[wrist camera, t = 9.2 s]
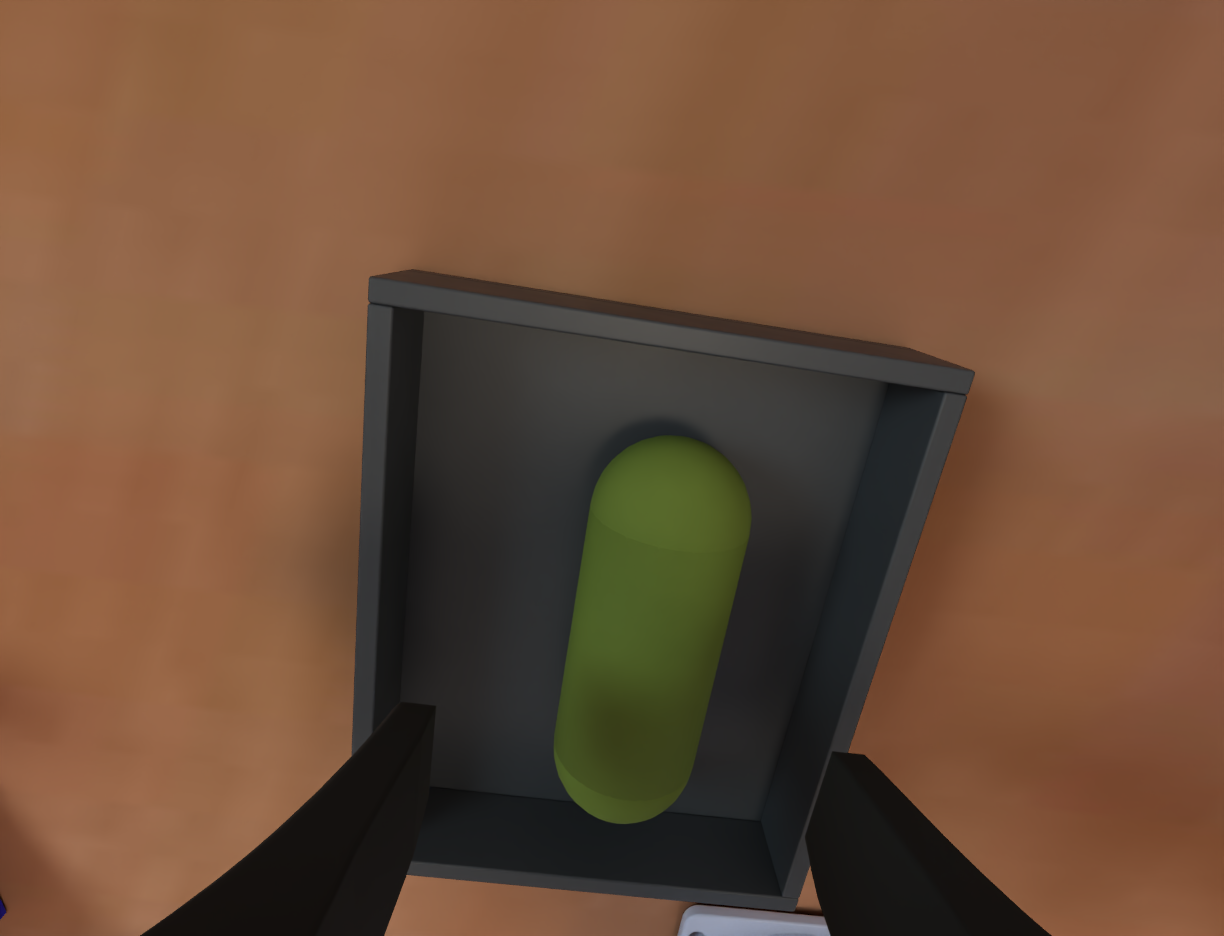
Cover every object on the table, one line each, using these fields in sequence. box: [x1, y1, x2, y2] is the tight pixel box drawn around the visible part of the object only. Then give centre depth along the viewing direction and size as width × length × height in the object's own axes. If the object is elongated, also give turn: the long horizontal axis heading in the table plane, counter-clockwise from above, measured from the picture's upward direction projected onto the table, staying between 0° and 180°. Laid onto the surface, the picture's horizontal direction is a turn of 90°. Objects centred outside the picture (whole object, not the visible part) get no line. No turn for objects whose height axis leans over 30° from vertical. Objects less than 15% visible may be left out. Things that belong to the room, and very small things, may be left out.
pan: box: [352, 269, 975, 912], centre depth 17 cm, size 15×12×3 cm
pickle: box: [554, 435, 752, 824], centre depth 16 cm, size 10×4×4 cm, turn 171°
